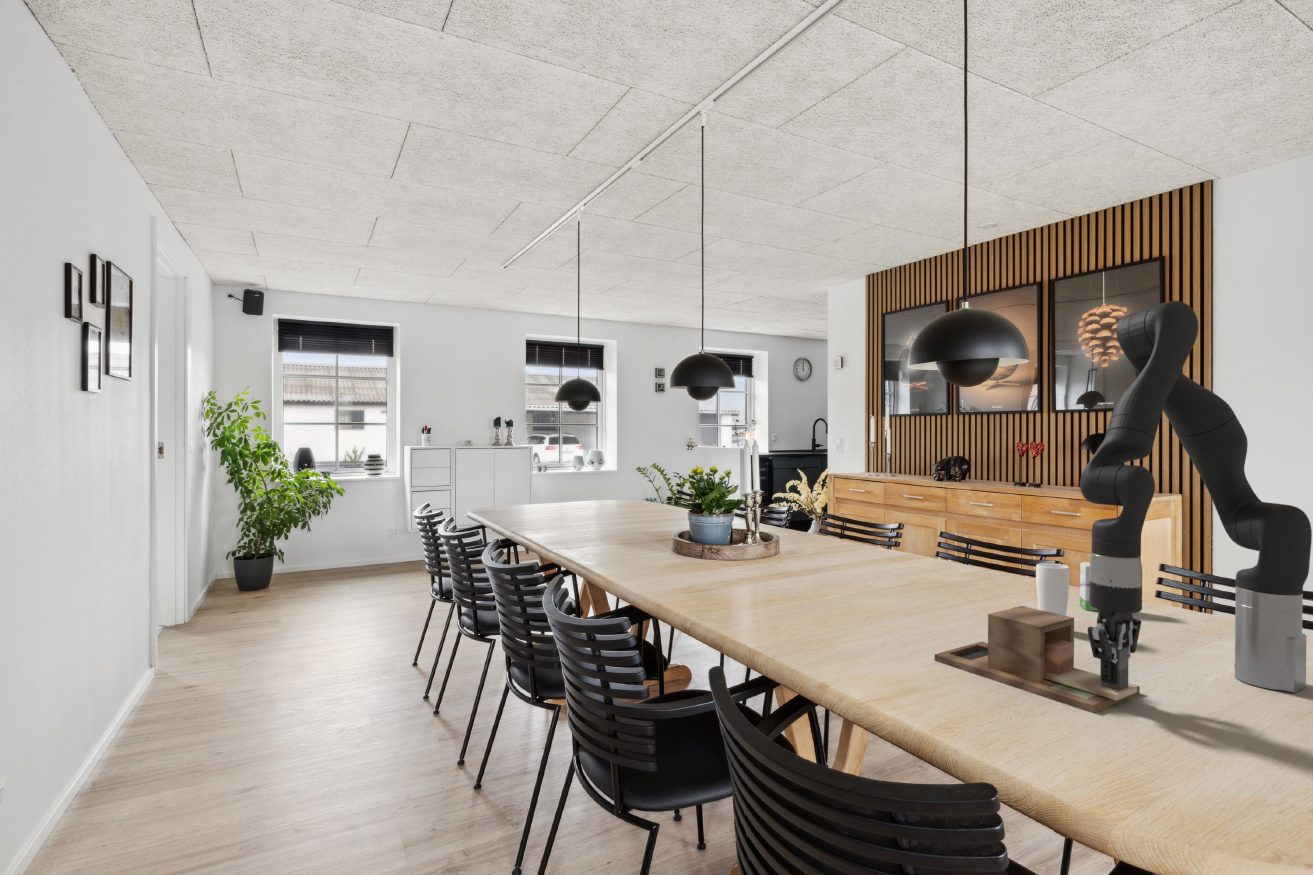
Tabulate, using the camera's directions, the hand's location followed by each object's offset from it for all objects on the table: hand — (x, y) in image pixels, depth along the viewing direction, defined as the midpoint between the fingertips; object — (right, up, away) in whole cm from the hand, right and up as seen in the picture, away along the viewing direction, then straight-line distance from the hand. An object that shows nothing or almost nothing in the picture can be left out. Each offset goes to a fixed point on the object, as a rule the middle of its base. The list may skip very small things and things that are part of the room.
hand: (1114, 680), depth 117 cm
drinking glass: (+14, -3, +42) cm, 45 cm away
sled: (-5, -2, +7) cm, 9 cm away
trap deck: (-8, -3, +12) cm, 15 cm away
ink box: (+37, -3, +60) cm, 71 cm away
